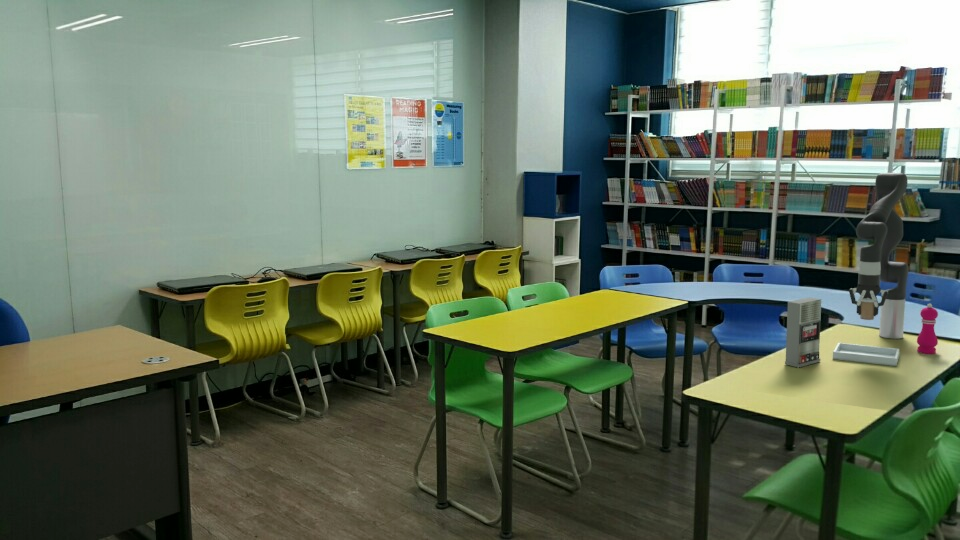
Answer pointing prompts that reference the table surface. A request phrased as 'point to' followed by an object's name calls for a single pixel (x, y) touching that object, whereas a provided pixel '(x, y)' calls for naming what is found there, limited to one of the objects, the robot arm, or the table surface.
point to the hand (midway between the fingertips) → (867, 315)
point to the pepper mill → (928, 331)
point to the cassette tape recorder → (803, 332)
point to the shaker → (867, 309)
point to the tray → (866, 354)
